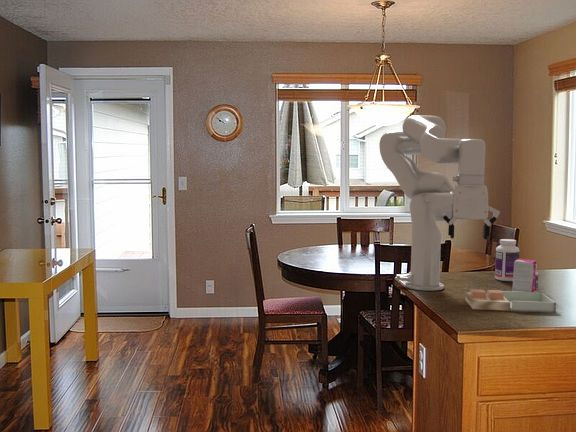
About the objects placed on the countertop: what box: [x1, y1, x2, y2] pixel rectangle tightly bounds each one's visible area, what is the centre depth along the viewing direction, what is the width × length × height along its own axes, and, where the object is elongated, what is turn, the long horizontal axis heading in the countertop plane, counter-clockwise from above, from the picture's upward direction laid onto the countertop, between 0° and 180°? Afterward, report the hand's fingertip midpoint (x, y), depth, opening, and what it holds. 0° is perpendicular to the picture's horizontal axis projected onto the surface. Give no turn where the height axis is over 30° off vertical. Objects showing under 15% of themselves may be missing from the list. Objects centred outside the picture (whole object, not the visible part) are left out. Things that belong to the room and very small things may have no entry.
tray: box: [501, 290, 557, 314], centre depth 195 cm, size 12×14×3 cm
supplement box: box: [511, 258, 537, 292], centre depth 209 cm, size 6×6×12 cm
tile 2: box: [486, 289, 504, 299], centre depth 196 cm, size 4×4×2 cm
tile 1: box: [469, 288, 487, 298], centre depth 196 cm, size 4×4×2 cm
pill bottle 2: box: [534, 264, 540, 292], centre depth 217 cm, size 5×5×9 cm
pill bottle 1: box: [494, 238, 520, 282], centre depth 236 cm, size 8×8×14 cm
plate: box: [465, 291, 511, 312], centre depth 196 cm, size 10×12×2 cm
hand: (468, 238), depth 197 cm, fingers open, 9 cm apart
